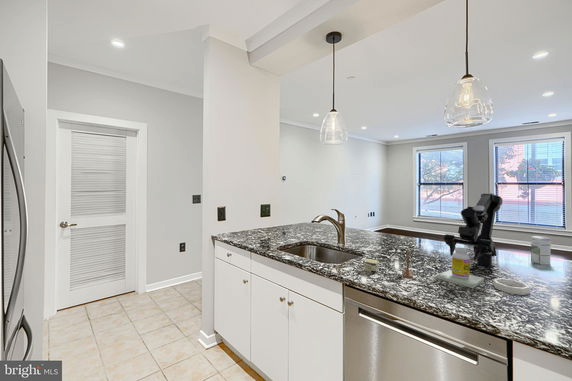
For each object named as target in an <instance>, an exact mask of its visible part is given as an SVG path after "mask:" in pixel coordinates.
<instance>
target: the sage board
mask: <svg viewBox="0 0 572 381" xmlns="http://www.w3.org/2000/svg"><path fill="white" fill-rule="evenodd" d="M436 279H438V280H441V281H445V282H448V283H452V284H456V285H459V286H464V287H467V288H471V289H474V288H476V287H477V286H479V285H481V284H482V283H483V282H484V281H485V278H484V277H481V276H477V275H473V274H469V278H468V279H460V278H456V277H454V276H453V275H452V269H447V270H446V271H444V272H442V273H440V274H438V275H436Z"/></svg>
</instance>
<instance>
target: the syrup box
mask: <svg viewBox="0 0 572 381" xmlns="http://www.w3.org/2000/svg"><path fill="white" fill-rule="evenodd" d="M530 238H531V240H530V241H531V244H530V262H532V263H534V264H538V265H541V266H545V265H546V266H548V265H551V250H552V248H551V247H552V245H551V244H552V238H550V237H546V236H542V235H541V236H540V235H533V236H531V237H530Z"/></svg>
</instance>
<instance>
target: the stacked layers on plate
mask: <svg viewBox="0 0 572 381" xmlns="http://www.w3.org/2000/svg"><path fill="white" fill-rule="evenodd" d="M363 264H364V266H363V268H364V271H365V272H369V273H372V272H375V273H378V270H379V267H378V266H379V260H377V259H371V258H366V259H365V258H364V262H363Z"/></svg>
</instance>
